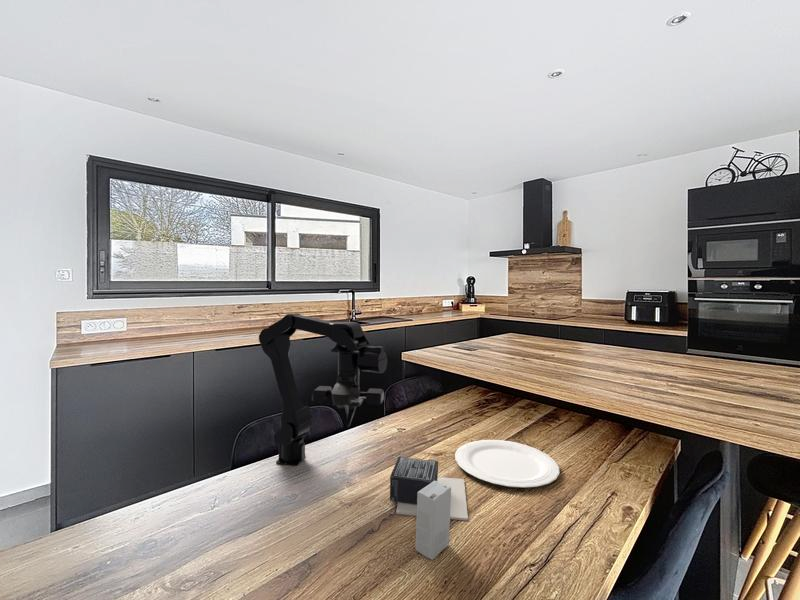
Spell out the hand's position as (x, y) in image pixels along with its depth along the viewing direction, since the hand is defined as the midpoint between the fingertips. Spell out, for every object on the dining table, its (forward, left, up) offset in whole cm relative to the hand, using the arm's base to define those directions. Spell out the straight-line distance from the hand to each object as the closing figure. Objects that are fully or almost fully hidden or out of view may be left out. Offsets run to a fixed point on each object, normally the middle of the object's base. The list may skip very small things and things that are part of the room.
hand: (348, 426), depth 102 cm
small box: (+14, -7, -9) cm, 18 cm away
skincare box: (+24, -26, -13) cm, 38 cm away
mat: (+23, -7, -13) cm, 28 cm away
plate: (+44, +12, -14) cm, 48 cm away
